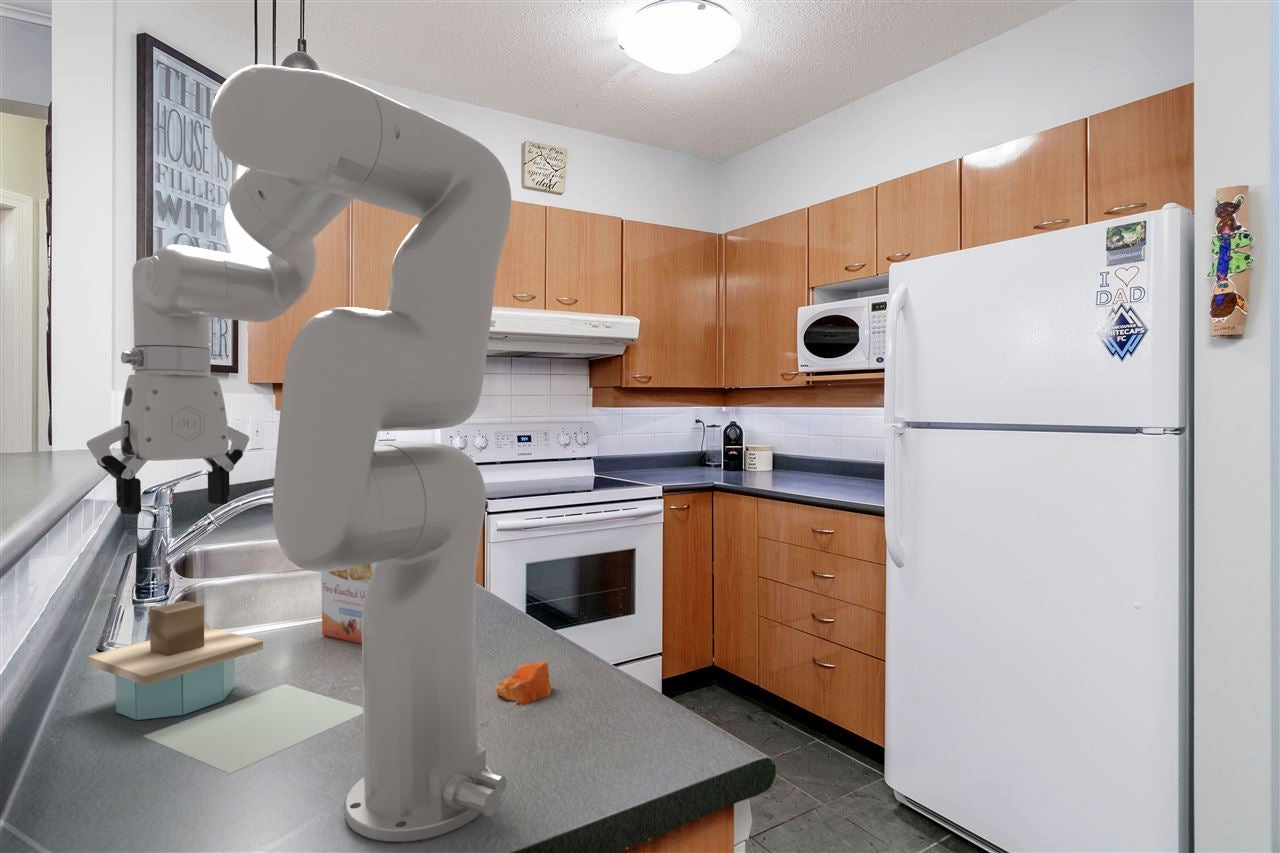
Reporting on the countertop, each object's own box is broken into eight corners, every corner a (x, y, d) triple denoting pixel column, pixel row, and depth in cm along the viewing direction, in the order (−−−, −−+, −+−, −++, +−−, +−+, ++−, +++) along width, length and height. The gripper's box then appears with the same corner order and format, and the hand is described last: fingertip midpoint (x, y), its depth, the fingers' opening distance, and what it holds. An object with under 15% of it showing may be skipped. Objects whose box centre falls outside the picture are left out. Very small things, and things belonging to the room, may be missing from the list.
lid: (263, 649, 85) (262, 600, 85) (145, 685, 74) (143, 629, 74) (204, 633, 91) (203, 588, 91) (87, 664, 80) (86, 613, 80)
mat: (370, 713, 79) (370, 710, 79) (230, 777, 65) (230, 773, 65) (284, 687, 87) (284, 684, 87) (142, 739, 73) (142, 735, 73)
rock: (451, 710, 82) (451, 674, 82) (514, 674, 93) (513, 643, 93) (535, 729, 77) (534, 691, 76) (591, 689, 87) (590, 655, 87)
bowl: (250, 694, 85) (249, 650, 85) (151, 730, 75) (150, 680, 75) (200, 678, 90) (200, 636, 90) (102, 710, 81) (101, 663, 81)
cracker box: (319, 637, 107) (317, 502, 106) (352, 626, 112) (350, 498, 112) (383, 651, 100) (381, 507, 100) (414, 639, 106) (413, 502, 105)
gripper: (104, 358, 73) (107, 520, 73) (262, 367, 88) (265, 501, 88) (70, 361, 76) (74, 516, 77) (228, 369, 92) (231, 498, 92)
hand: (176, 508), depth 82 cm, fingers open, 9 cm apart
